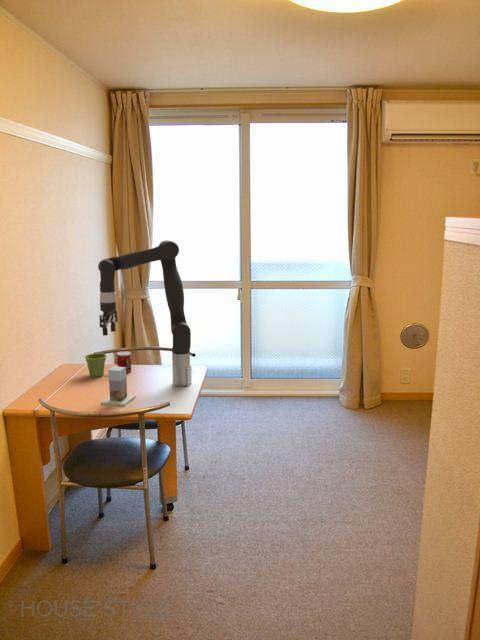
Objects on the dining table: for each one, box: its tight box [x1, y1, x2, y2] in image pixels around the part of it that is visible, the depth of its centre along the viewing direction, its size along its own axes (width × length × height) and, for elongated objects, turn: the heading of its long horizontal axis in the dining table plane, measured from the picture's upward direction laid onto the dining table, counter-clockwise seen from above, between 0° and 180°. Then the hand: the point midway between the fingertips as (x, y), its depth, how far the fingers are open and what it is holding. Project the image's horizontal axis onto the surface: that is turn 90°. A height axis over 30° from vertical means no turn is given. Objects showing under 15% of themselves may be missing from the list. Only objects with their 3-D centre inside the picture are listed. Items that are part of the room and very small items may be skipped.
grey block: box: [108, 377, 128, 391], centre depth 244 cm, size 6×6×5 cm
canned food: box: [116, 350, 132, 375], centre depth 289 cm, size 8×8×11 cm
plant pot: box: [84, 352, 108, 378], centre depth 282 cm, size 12×12×11 cm
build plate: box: [100, 394, 136, 407], centre depth 246 cm, size 12×12×1 cm
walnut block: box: [109, 387, 128, 401], centre depth 245 cm, size 6×6×5 cm
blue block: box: [107, 365, 127, 381], centre depth 243 cm, size 6×6×5 cm
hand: (109, 333), depth 252 cm, fingers open, 8 cm apart
